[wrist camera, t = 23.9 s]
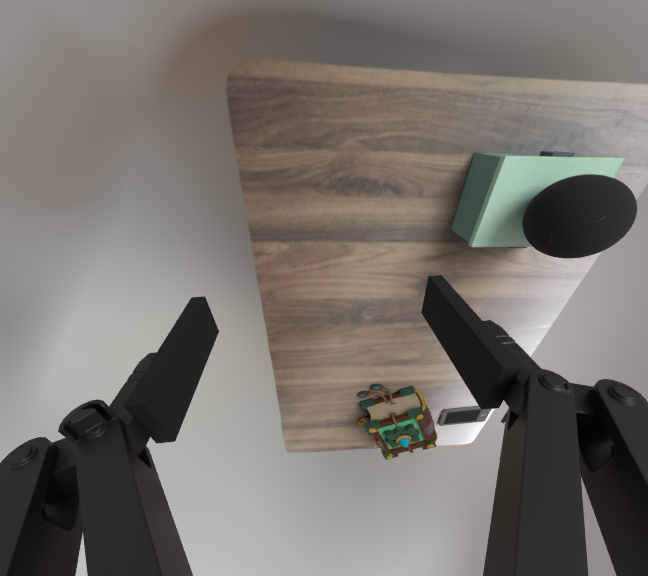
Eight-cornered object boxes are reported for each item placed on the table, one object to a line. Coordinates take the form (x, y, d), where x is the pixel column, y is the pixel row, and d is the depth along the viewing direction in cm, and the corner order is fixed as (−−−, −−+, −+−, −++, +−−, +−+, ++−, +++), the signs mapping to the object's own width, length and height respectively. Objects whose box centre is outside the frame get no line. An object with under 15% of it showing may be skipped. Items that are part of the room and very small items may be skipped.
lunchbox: (448, 233, 44) (470, 249, 39) (475, 147, 37) (507, 152, 31) (535, 232, 46) (568, 249, 40) (577, 149, 38) (626, 154, 32)
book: (339, 394, 69) (344, 432, 61) (414, 370, 65) (430, 407, 57) (368, 436, 83) (375, 471, 75) (431, 418, 80) (446, 453, 71)
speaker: (594, 192, 35) (685, 214, 27) (531, 250, 39) (592, 285, 31) (553, 152, 32) (642, 163, 23) (490, 220, 36) (546, 250, 28)
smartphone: (437, 423, 81) (438, 426, 81) (442, 409, 77) (444, 412, 76) (483, 419, 82) (484, 421, 81) (491, 404, 77) (492, 407, 77)
